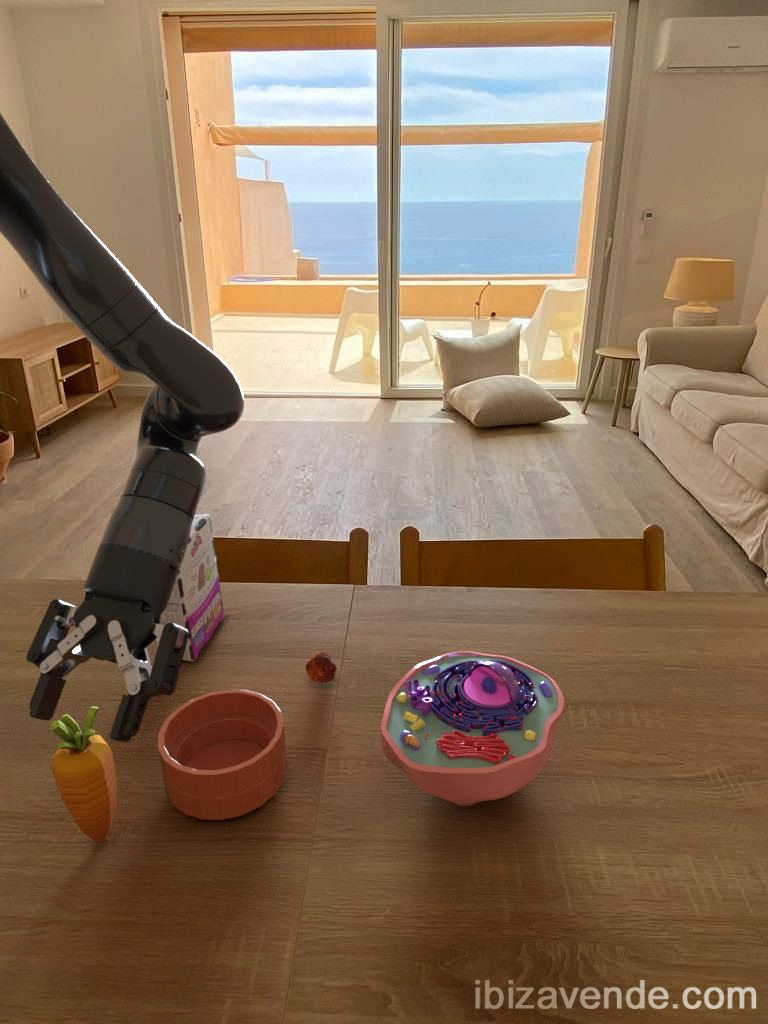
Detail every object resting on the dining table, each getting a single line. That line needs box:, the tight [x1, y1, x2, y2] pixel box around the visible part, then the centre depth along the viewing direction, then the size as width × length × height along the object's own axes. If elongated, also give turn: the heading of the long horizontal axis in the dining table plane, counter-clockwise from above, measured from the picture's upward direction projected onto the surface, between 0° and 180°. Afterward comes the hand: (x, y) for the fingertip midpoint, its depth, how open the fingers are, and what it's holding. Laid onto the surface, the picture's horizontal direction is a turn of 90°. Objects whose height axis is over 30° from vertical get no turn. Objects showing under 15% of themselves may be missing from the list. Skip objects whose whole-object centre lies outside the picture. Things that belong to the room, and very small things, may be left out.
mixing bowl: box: [157, 689, 288, 821], centre depth 71 cm, size 12×12×6 cm
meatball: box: [305, 651, 338, 683], centre depth 85 cm, size 4×4×4 cm
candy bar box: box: [160, 513, 225, 663], centre depth 92 cm, size 11×5×16 cm, turn 171°
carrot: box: [50, 706, 118, 843], centre depth 62 cm, size 5×5×15 cm
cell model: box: [380, 650, 565, 807], centre depth 70 cm, size 17×20×11 cm
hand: (78, 729), depth 60 cm, fingers open, 8 cm apart
